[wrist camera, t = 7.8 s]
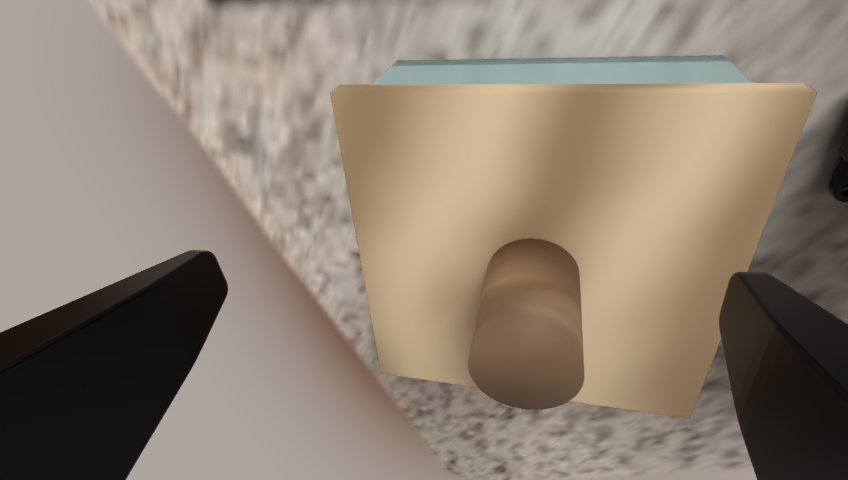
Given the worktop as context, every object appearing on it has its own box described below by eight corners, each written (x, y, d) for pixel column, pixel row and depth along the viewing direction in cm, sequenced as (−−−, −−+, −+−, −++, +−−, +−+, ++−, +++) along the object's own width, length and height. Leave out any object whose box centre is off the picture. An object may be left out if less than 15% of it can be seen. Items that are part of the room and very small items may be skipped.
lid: (803, 82, 12) (927, 170, 8) (685, 402, 19) (719, 535, 15) (339, 85, 15) (256, 149, 11) (386, 360, 23) (346, 461, 18)
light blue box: (723, 55, 17) (773, 100, 13) (655, 309, 23) (674, 391, 19) (397, 60, 19) (354, 99, 15) (420, 286, 26) (394, 353, 22)
